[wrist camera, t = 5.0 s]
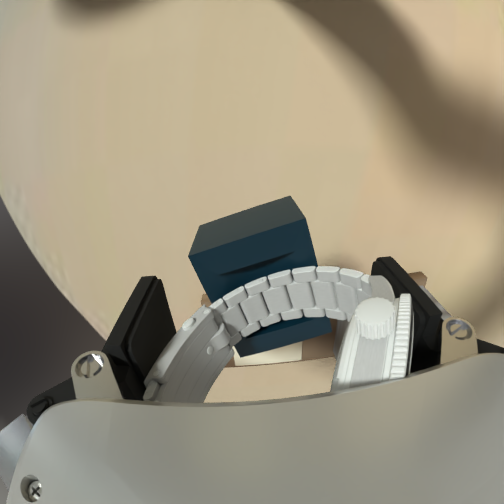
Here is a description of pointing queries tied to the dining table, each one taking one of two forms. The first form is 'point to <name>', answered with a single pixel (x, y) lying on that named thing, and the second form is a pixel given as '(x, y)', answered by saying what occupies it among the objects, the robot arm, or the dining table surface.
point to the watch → (279, 307)
